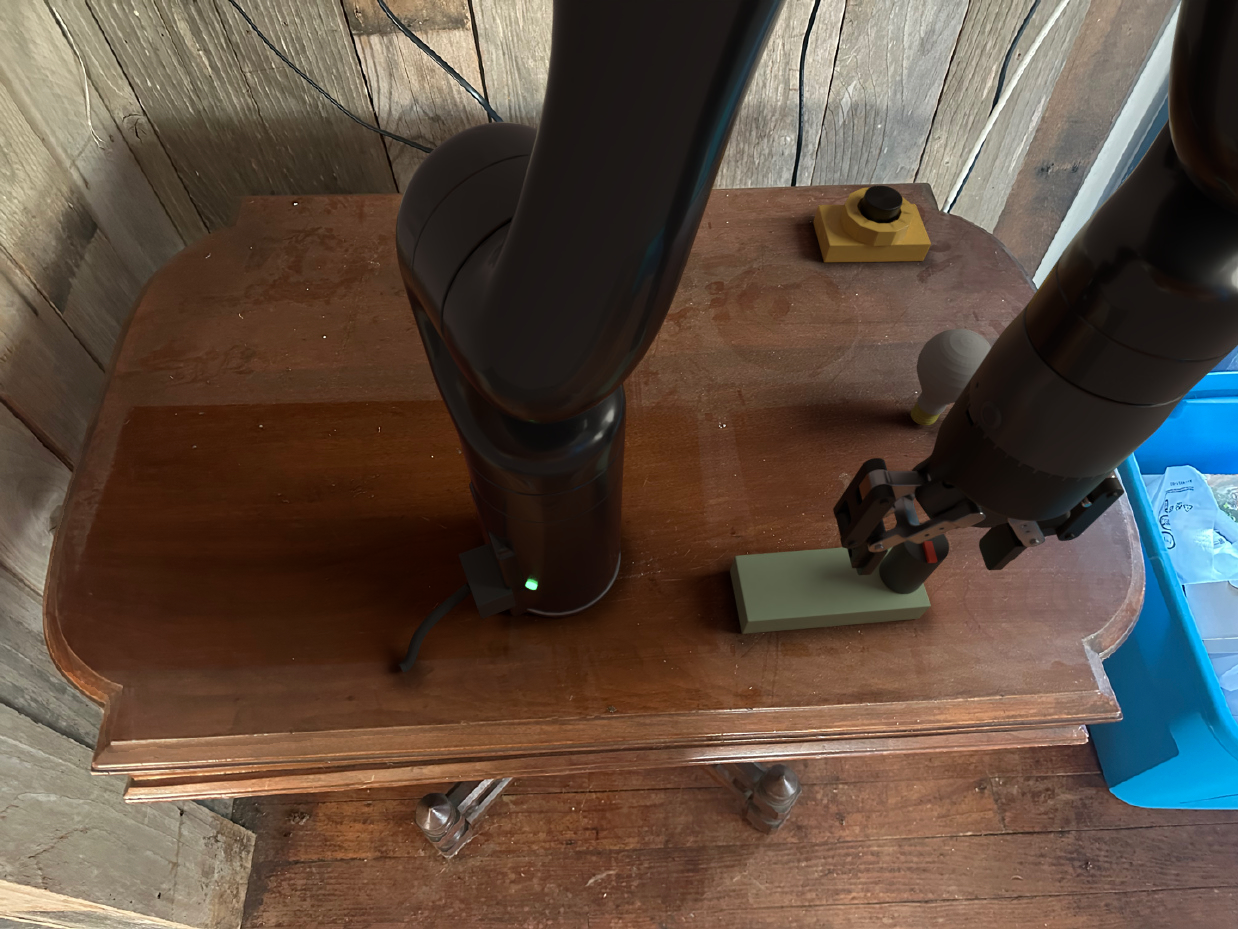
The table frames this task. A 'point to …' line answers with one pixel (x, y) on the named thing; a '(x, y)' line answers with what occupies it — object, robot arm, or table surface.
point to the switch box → (869, 233)
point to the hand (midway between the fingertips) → (923, 559)
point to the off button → (881, 204)
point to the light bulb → (946, 371)
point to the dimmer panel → (815, 592)
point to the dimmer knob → (912, 563)
